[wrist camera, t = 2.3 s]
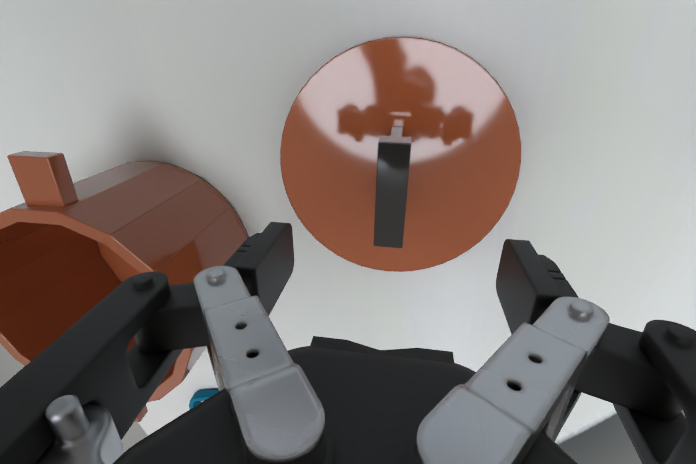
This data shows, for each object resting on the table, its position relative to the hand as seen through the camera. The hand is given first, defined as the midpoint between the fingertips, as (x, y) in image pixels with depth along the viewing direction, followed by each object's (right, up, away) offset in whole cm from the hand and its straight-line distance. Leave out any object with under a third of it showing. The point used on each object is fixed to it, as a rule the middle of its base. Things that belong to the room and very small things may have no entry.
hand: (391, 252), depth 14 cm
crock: (-17, 0, +18) cm, 24 cm away
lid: (+2, +5, +11) cm, 12 cm away
